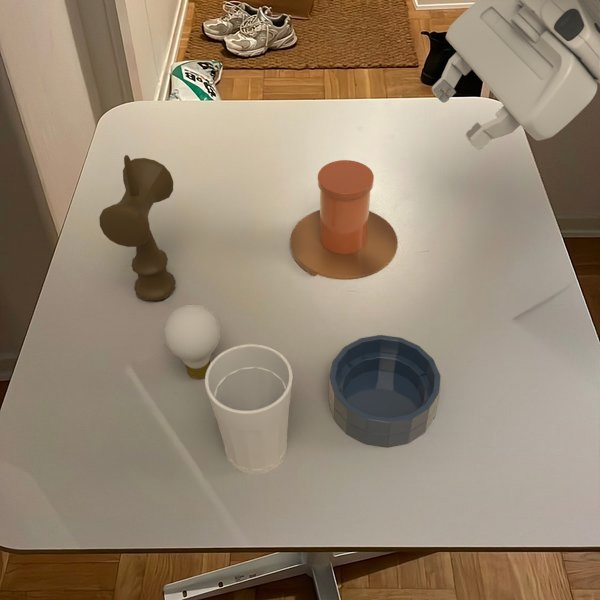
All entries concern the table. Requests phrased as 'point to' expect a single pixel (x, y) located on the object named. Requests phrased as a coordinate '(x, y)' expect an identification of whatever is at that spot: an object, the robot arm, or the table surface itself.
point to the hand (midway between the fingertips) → (453, 119)
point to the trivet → (343, 265)
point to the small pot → (344, 205)
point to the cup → (251, 405)
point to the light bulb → (193, 337)
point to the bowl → (383, 390)
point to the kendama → (141, 225)
